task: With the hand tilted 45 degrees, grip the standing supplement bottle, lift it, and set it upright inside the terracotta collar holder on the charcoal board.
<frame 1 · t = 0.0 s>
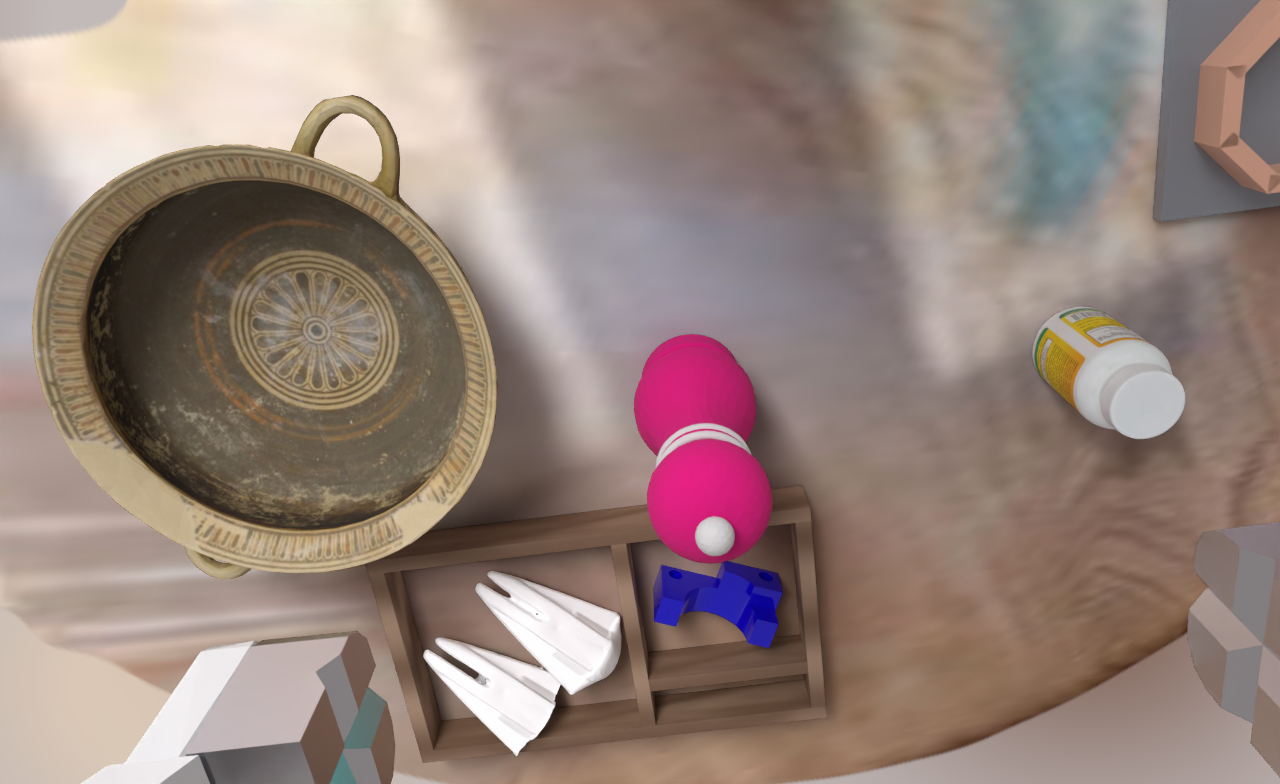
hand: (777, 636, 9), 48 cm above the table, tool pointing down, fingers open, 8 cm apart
collar holder: (1277, 89, 53), on the table
pepper mill: (690, 378, 60), on the table
supplement bottle: (1070, 344, 59), on the table
white tapered wedge pair: (524, 625, 67), resting in walnut compartment tray
walnut compartment tray: (606, 616, 67), on the table
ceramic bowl: (325, 320, 58), on the table
cable holder: (714, 577, 66), resting in walnut compartment tray
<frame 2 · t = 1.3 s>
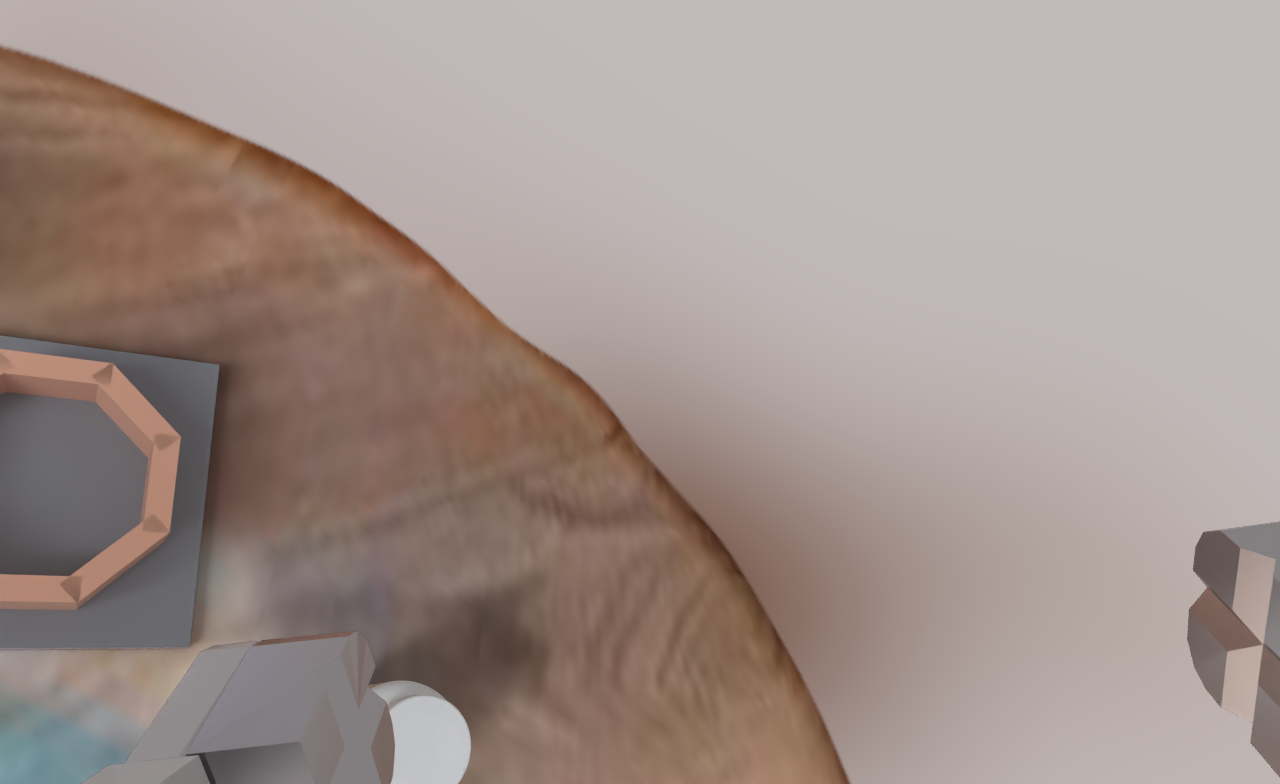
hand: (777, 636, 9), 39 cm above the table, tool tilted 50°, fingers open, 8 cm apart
collar holder: (36, 492, 40), on the table
supplement bottle: (352, 748, 44), on the table
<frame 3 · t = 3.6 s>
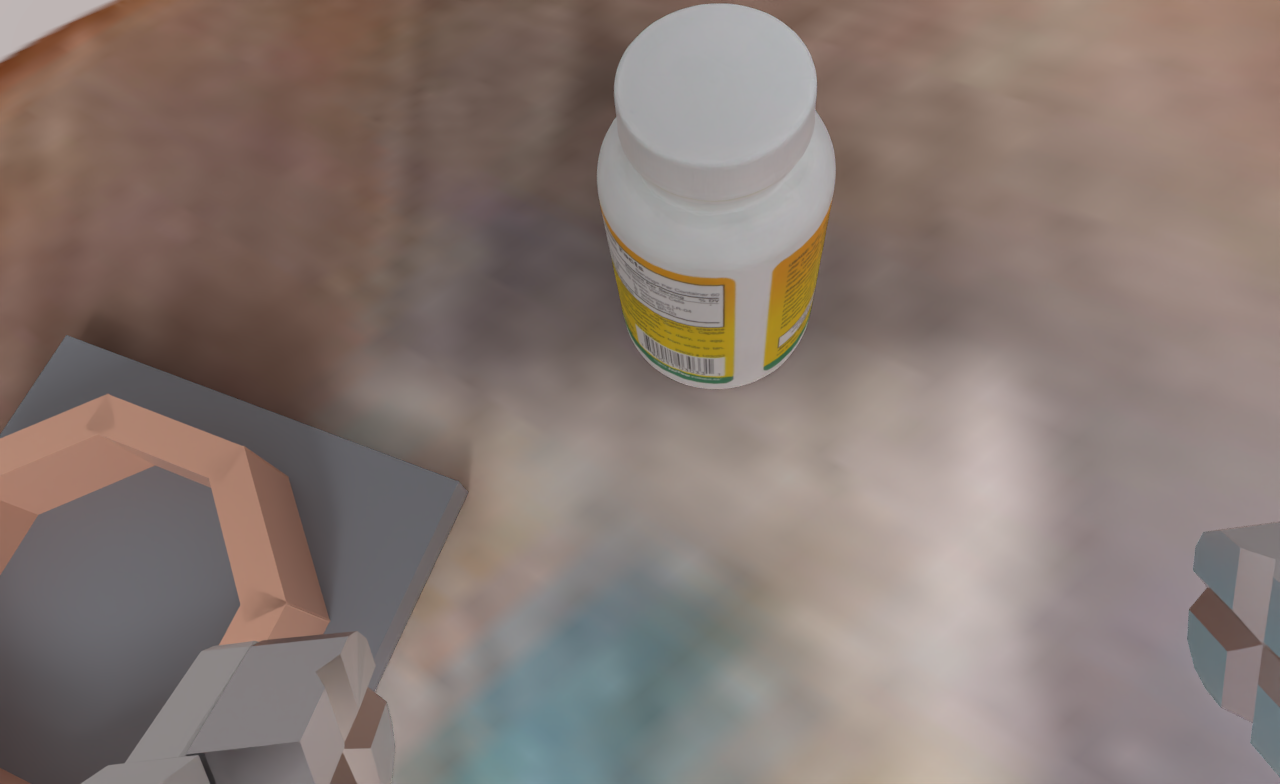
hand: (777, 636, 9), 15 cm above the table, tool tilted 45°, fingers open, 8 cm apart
collar holder: (146, 632, 25), on the table
supplement bottle: (718, 312, 27), on the table
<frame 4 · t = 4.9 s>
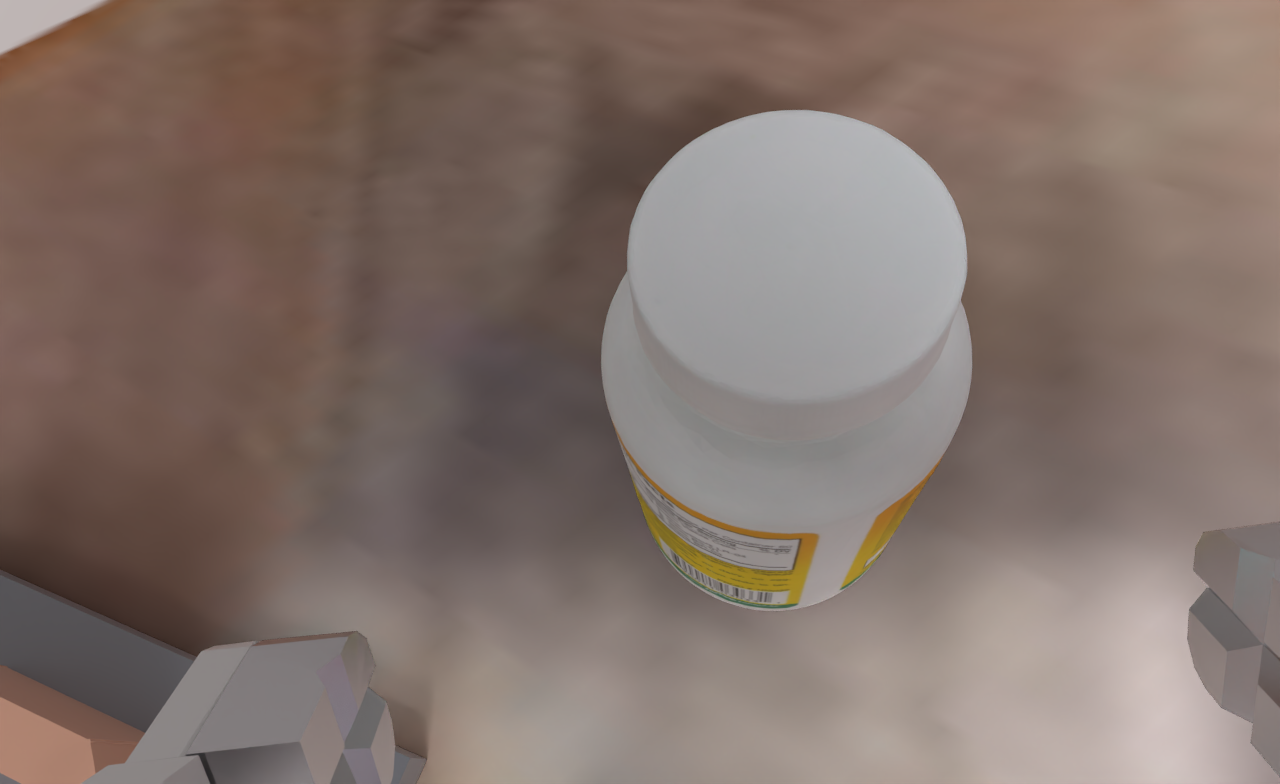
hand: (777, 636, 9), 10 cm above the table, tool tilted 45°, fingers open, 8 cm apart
supplement bottle: (769, 488, 20), on the table
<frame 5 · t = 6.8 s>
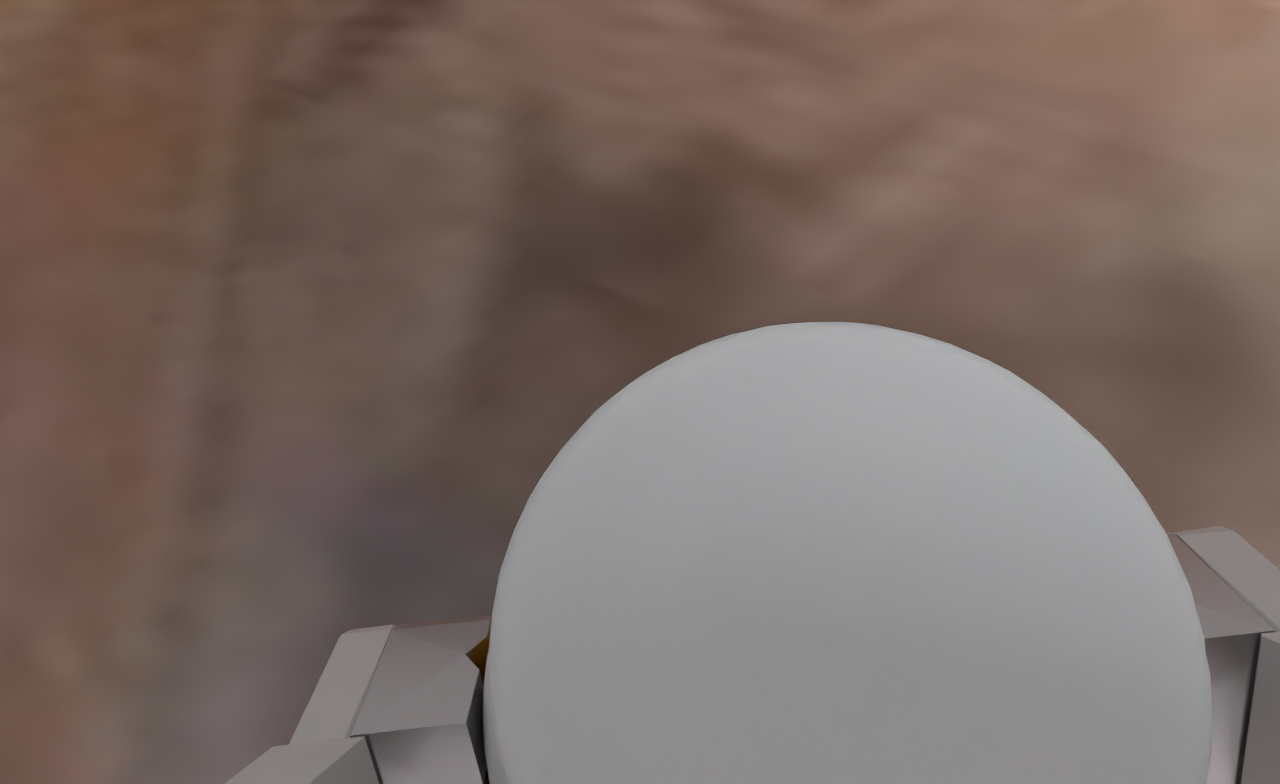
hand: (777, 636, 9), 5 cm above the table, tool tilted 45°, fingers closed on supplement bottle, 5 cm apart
supplement bottle: (767, 731, 14), on the table, touching gripper
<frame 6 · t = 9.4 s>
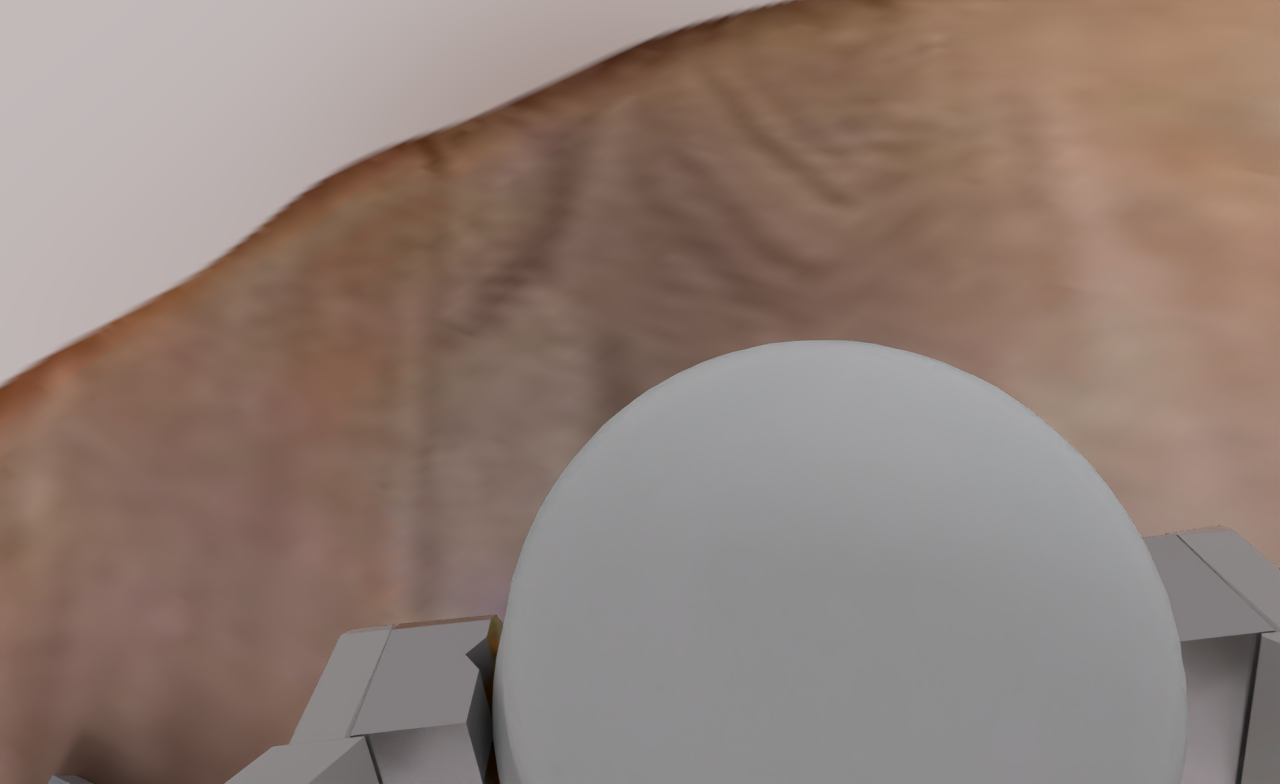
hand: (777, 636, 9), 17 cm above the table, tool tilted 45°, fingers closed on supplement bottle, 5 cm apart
supplement bottle: (767, 727, 15), point 11 cm above the table, touching gripper
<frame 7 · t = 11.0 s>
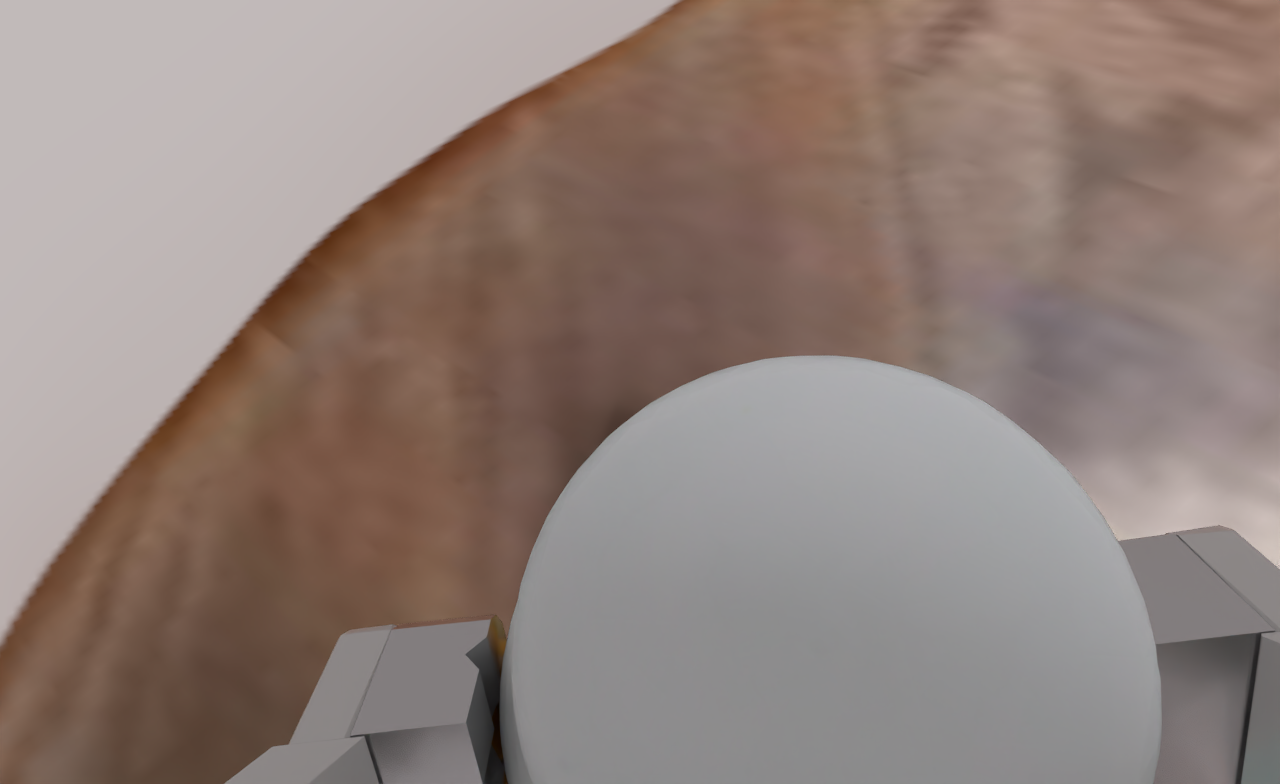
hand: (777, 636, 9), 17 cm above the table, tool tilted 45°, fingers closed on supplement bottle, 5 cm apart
supplement bottle: (765, 726, 15), point 11 cm above the table, touching gripper
when the fingers open (8 cm above the table, at t = 13.0 s): supplement bottle stays where it is, resting on collar holder.
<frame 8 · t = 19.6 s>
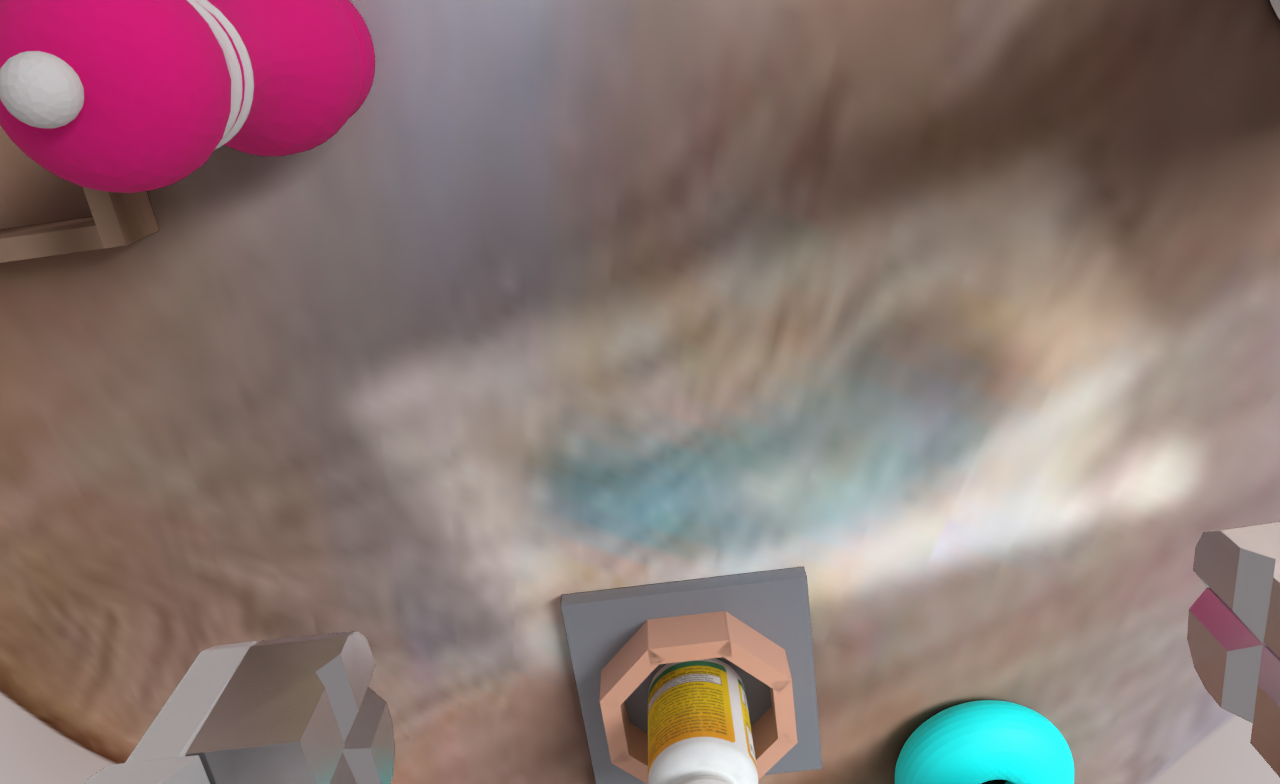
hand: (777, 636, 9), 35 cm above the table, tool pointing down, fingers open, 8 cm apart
donuts: (973, 755, 55), on the table
collar holder: (695, 678, 53), on the table
pepper mill: (304, 54, 40), on the table
supplement bottle: (695, 688, 52), point 1 cm above the table, touching collar holder
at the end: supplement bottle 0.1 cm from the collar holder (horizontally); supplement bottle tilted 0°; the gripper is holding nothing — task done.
